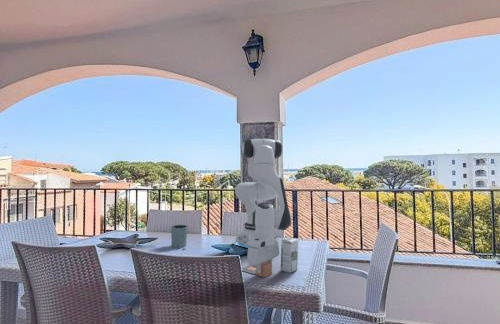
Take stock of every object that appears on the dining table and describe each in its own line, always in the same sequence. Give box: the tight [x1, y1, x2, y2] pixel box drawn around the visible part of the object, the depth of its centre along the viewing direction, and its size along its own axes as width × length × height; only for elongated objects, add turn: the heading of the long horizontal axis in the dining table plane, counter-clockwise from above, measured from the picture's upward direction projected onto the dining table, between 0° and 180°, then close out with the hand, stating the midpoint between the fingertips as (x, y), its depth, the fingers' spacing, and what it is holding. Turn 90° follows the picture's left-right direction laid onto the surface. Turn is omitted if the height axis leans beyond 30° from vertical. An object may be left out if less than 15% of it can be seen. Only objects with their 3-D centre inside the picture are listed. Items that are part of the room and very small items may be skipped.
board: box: [241, 264, 256, 275], centre depth 140 cm, size 9×9×1 cm
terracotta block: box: [255, 262, 273, 278], centre depth 134 cm, size 5×5×5 cm
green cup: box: [170, 224, 189, 249], centre depth 180 cm, size 10×10×12 cm
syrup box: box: [280, 237, 299, 274], centre depth 140 cm, size 6×6×14 cm
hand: (264, 270), depth 134 cm, fingers closed on terracotta block, 5 cm apart
